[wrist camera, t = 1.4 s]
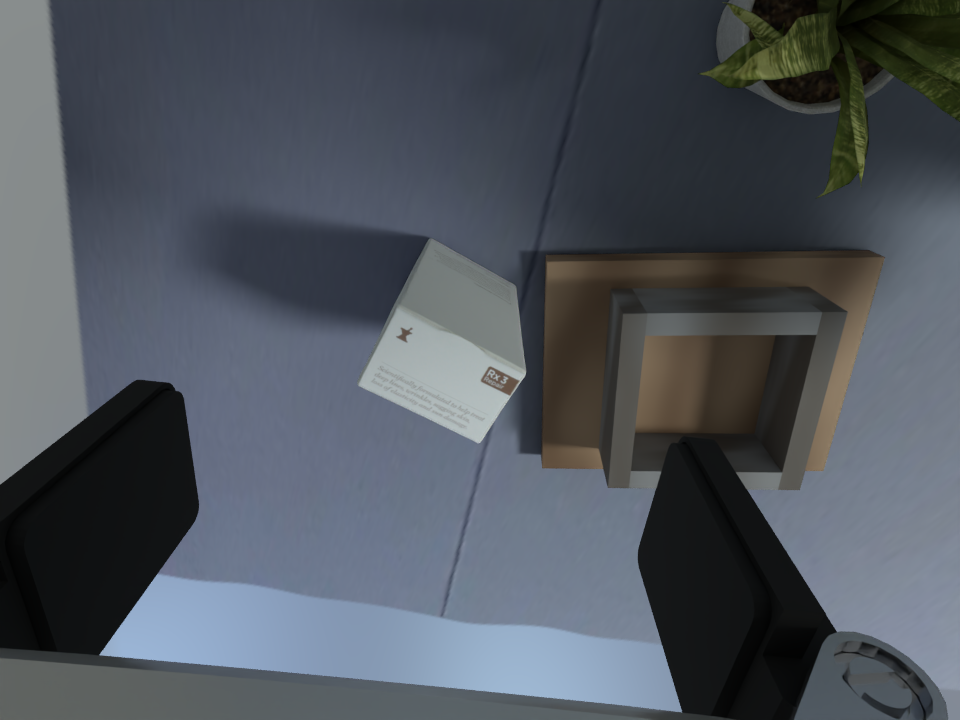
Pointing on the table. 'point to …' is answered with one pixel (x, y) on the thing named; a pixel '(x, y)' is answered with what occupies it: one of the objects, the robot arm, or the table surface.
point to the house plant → (840, 60)
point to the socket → (700, 359)
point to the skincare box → (450, 344)
